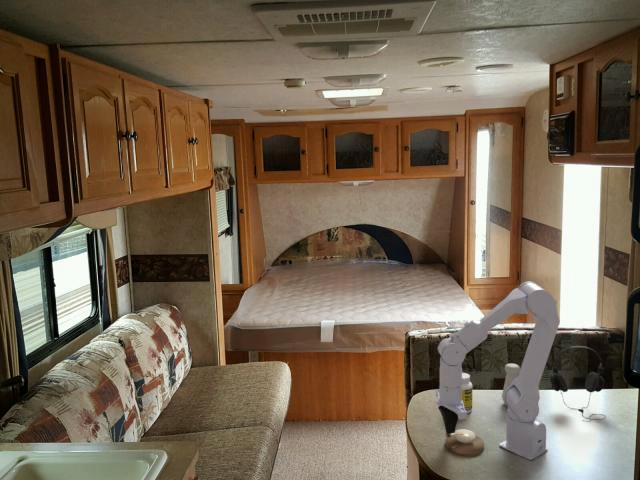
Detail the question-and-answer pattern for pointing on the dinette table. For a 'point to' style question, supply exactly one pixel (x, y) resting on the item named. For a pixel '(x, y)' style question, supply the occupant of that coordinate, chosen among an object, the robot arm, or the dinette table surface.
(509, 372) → the salt shaker
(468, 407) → the pill bottle
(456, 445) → the base
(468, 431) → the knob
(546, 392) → the dinette table surface
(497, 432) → the dinette table surface
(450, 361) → the robot arm
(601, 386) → the headphones
